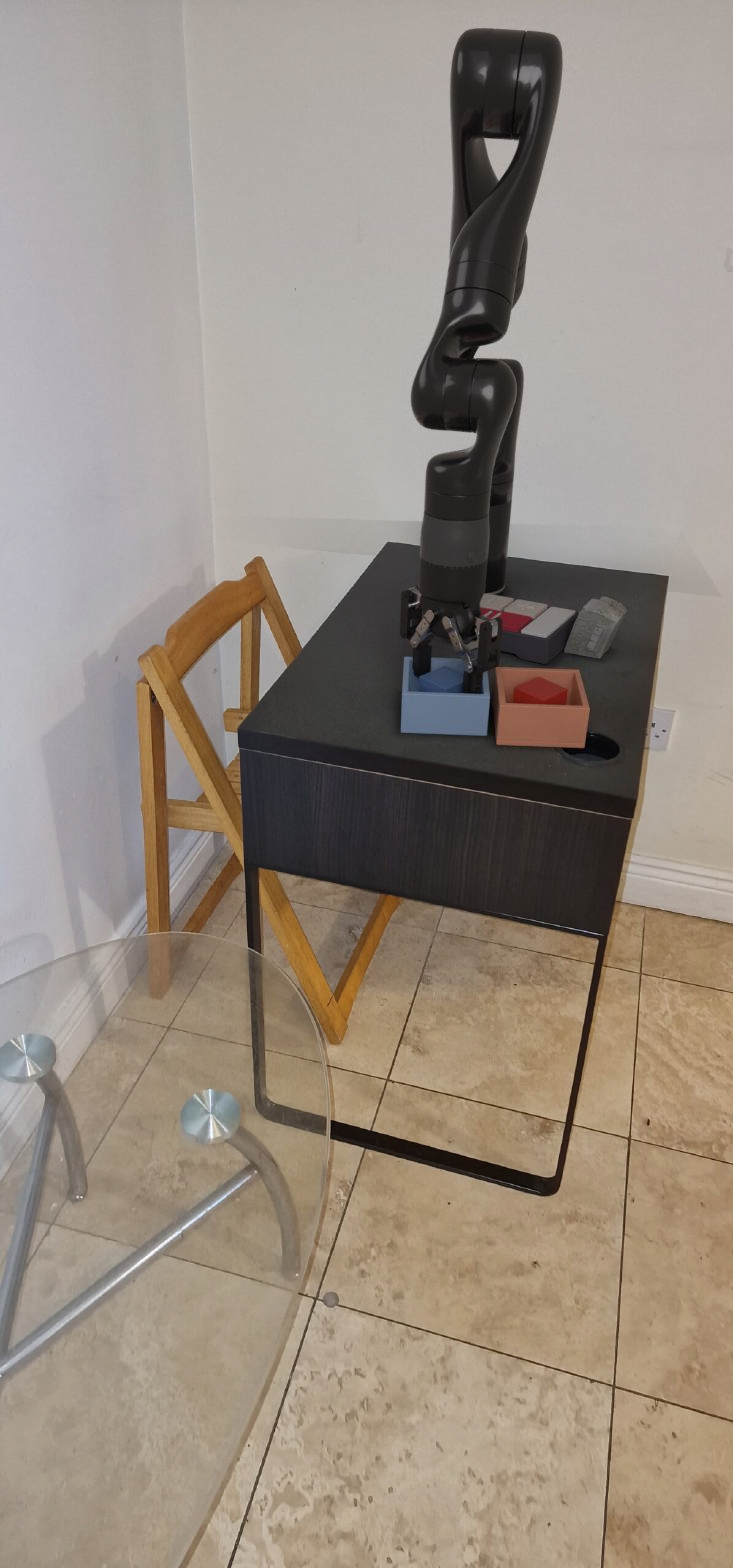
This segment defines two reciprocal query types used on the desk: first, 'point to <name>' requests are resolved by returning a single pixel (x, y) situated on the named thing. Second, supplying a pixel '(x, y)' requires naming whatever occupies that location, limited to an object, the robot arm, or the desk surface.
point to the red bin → (540, 710)
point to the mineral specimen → (595, 627)
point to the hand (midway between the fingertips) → (445, 686)
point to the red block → (540, 693)
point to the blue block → (441, 681)
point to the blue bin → (443, 705)
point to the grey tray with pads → (529, 627)
